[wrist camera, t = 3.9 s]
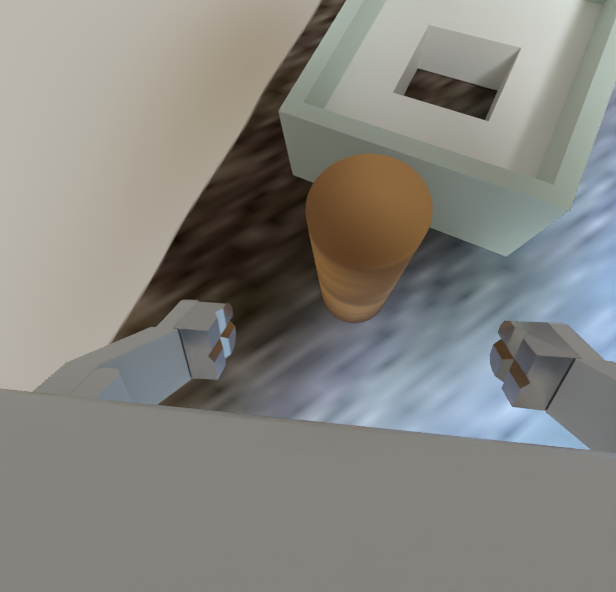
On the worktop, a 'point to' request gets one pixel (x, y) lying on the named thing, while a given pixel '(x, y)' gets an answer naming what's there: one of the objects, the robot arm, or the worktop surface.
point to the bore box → (457, 126)
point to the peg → (365, 230)
